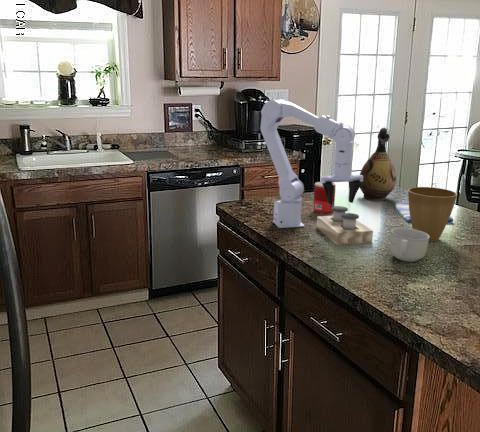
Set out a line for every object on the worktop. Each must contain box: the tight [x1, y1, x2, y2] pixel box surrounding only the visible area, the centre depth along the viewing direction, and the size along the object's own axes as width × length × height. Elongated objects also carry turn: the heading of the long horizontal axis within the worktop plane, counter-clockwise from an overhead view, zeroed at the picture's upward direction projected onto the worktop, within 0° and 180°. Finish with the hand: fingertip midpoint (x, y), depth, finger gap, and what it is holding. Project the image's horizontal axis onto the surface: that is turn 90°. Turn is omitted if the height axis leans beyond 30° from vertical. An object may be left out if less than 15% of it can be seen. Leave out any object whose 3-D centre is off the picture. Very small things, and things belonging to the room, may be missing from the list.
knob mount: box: [316, 215, 374, 246], centre depth 176 cm, size 12×19×4 cm, turn 12°
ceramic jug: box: [359, 127, 397, 202], centre depth 223 cm, size 17×15×30 cm
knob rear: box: [331, 205, 349, 222], centre depth 179 cm, size 6×6×4 cm
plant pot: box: [407, 186, 458, 243], centre depth 171 cm, size 15×15×16 cm
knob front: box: [341, 212, 360, 230], centre depth 171 cm, size 6×6×4 cm
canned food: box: [313, 181, 336, 215], centre depth 204 cm, size 8×8×11 cm
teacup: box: [389, 227, 430, 263], centre depth 153 cm, size 14×11×8 cm
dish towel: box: [394, 201, 454, 225], centre depth 202 cm, size 17×24×3 cm
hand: (340, 202), depth 178 cm, fingers open, 7 cm apart
